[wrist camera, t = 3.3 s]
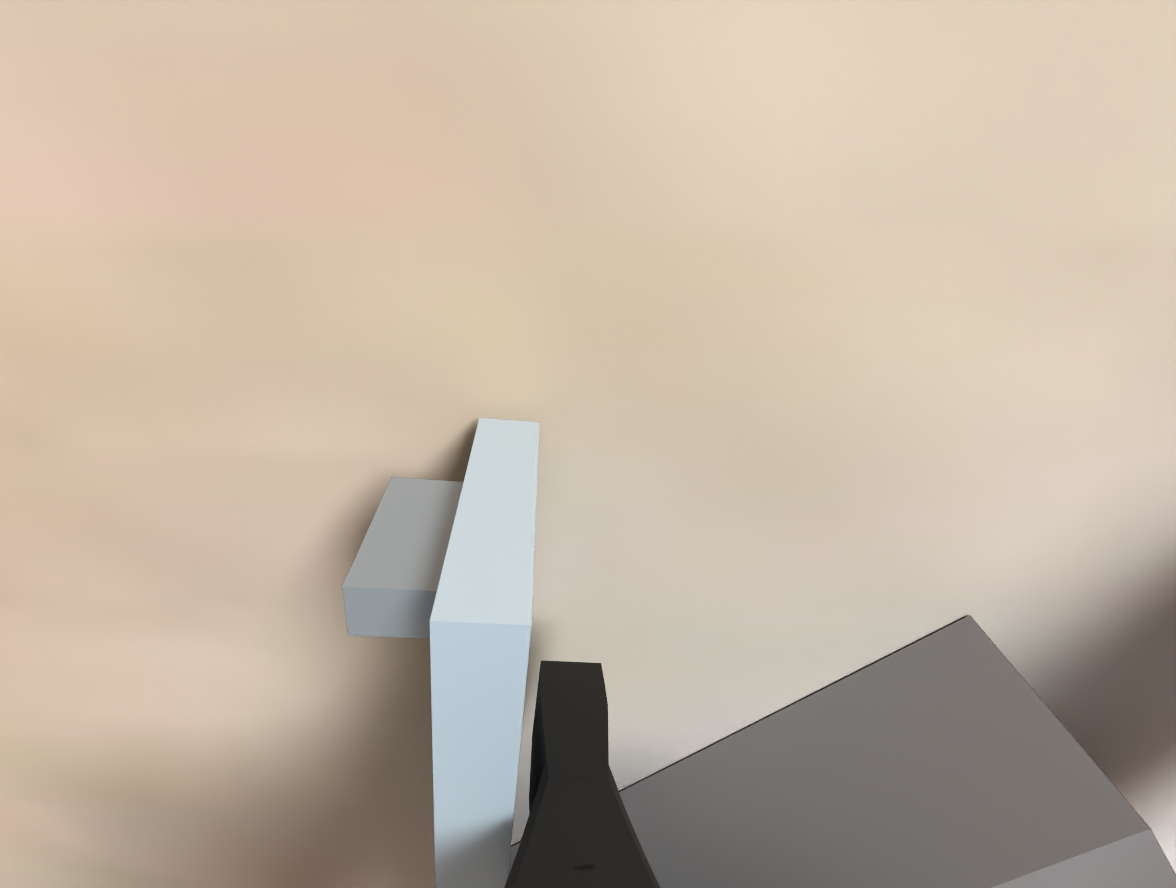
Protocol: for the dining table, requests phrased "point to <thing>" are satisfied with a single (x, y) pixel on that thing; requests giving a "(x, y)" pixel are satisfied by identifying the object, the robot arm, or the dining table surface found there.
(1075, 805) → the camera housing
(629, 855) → the robot arm
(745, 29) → the dining table surface
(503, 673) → the side door
